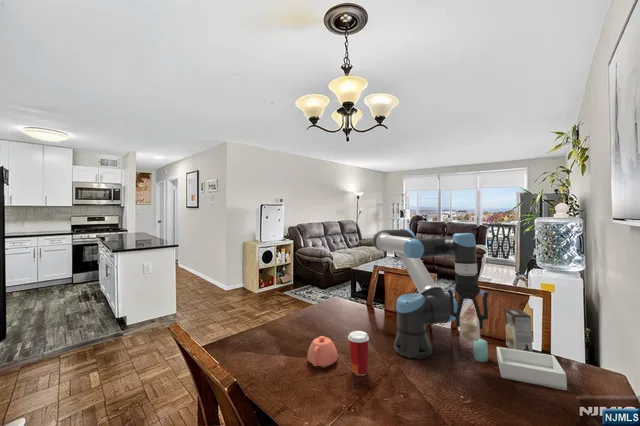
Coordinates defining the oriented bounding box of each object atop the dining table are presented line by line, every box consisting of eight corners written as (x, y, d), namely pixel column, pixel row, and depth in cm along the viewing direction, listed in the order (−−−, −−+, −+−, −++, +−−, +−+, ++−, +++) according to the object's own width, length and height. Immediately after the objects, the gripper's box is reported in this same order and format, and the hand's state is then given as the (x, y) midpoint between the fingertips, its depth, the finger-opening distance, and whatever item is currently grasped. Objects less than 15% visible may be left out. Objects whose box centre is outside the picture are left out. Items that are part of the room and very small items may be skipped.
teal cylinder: (473, 360, 107) (472, 342, 107) (473, 354, 112) (472, 337, 112) (488, 363, 105) (487, 344, 105) (487, 357, 109) (486, 339, 110)
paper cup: (371, 368, 104) (370, 331, 104) (368, 379, 97) (366, 339, 97) (351, 365, 107) (350, 329, 107) (347, 376, 99) (345, 337, 100)
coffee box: (505, 345, 119) (503, 308, 119) (521, 346, 118) (519, 308, 118) (516, 355, 110) (513, 315, 110) (534, 356, 109) (531, 315, 109)
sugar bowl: (342, 358, 113) (341, 333, 113) (329, 375, 100) (328, 347, 101) (315, 353, 118) (315, 329, 118) (300, 369, 105) (299, 342, 106)
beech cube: (462, 339, 101) (462, 325, 101) (462, 334, 105) (461, 321, 106) (478, 341, 99) (477, 327, 99) (477, 336, 103) (476, 322, 103)
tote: (501, 377, 95) (500, 363, 95) (497, 359, 107) (496, 346, 107) (567, 390, 87) (566, 374, 87) (554, 369, 99) (553, 355, 99)
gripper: (440, 274, 104) (443, 336, 103) (495, 276, 96) (500, 344, 95) (440, 271, 110) (444, 329, 109) (492, 273, 103) (496, 335, 102)
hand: (470, 336), depth 102 cm, fingers closed on beech cube, 5 cm apart
